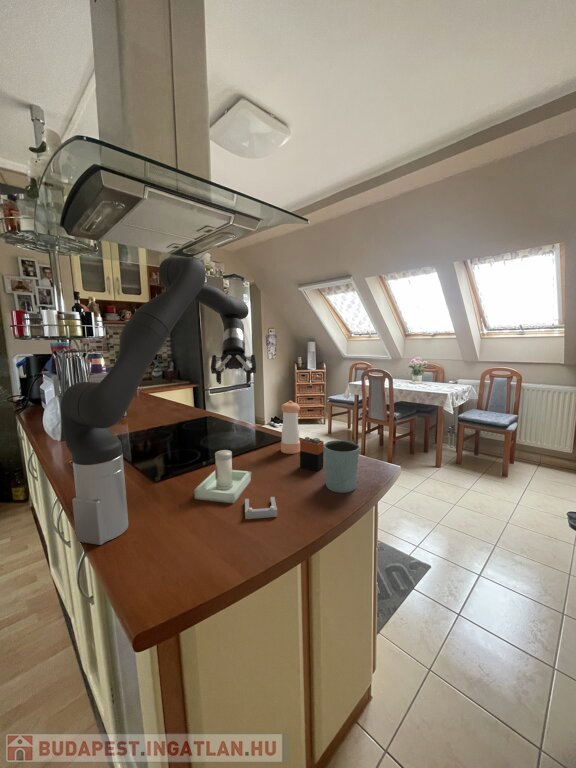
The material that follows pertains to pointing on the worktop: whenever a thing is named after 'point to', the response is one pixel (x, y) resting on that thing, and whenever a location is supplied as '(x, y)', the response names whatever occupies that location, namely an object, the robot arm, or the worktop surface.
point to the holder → (260, 511)
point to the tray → (211, 493)
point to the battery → (311, 453)
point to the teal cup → (341, 465)
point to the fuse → (223, 470)
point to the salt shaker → (290, 428)
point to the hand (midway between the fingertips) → (233, 382)
